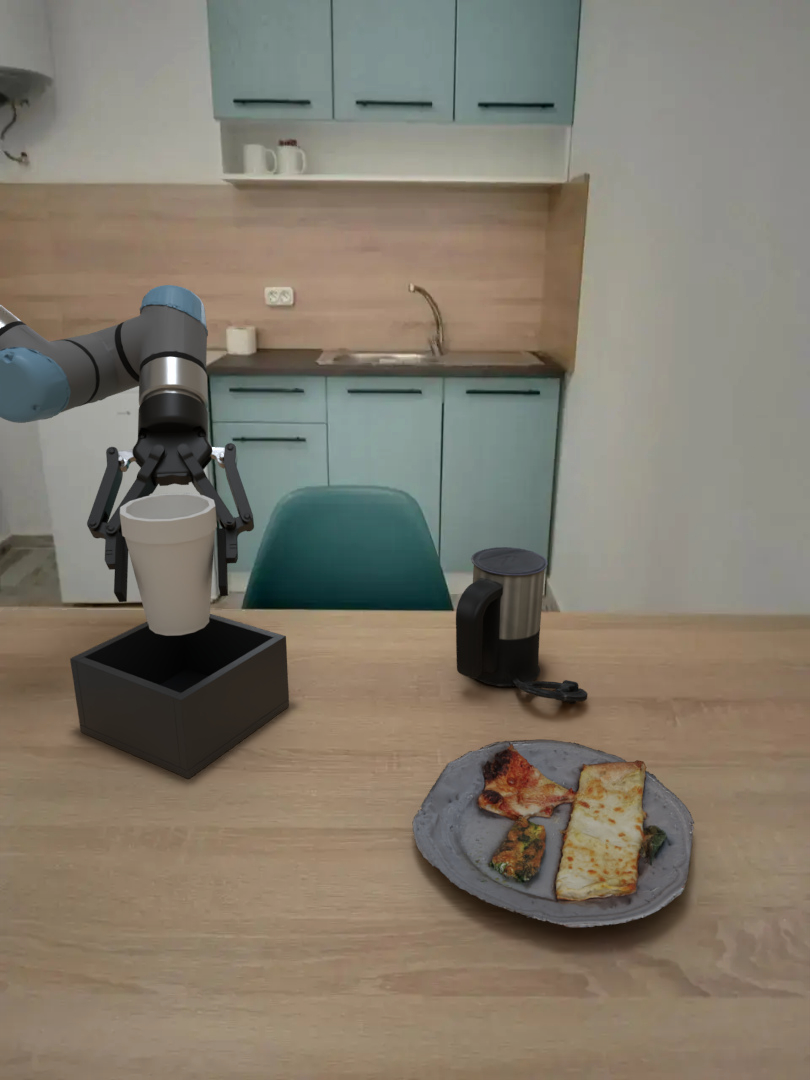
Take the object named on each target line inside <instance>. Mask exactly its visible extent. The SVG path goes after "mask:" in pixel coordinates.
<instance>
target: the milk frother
mask: <svg viewBox="0 0 810 1080" xmlns="http://www.w3.org/2000/svg"><path fill="white" fill-rule="evenodd" d="M470 560H471V563H472V564H473V568H472V569H473V571H472V583H470V584H469V585H468V586H467V587H466V588H465V589H464V591H463V592H462V594H461V595H460V597H459V600H458V602H457V606H456V611H455V649H456V650H455V651H456V652H455V653H456V671H457V672H458V674H460V675H462V676H464V677H467V678H470V679H475V680H477V681H480V682H482V683H483V684H487V685H490V686H496V687H504V688H505V687H508V688H509V687H510V688H511V687H517V688H518V689H519V690H521V691H523V692H525V693H527V694H530V695H533V696H536V697H539V698H544V699H551V700H556V701H559V702H562V703H566V704H570V705H575V704H576V703H578V702H585V701H587V699H588V695H589V694H588V692H587V691H586V690H585V689H583V688H581V687H579V683H578V682H577V681H573V680H568V679H564V680H563V681H562V682H559V681H547V680H536V679H538V677H539V676H540V673H541V667H540V664H539V661H540V660H539V657H540V656H539V655H540V636H541V635H540V633H541V622H542V620H541V619H542V610H543V609H542V608H543V594H544V584H545V583H544V581H545V569H547V567H548V564H549V563H548V560H547V559H546V557H544V556H543V555H542V554H540V553H537V552H534V551H532V550H528V549H524V548H520V547H519V548H518V547H507V546H506V547H505V546H500V547H490V548H485V549H481V550H478V551H476V552H475V553H473V555H471V557H470ZM551 689H553V690H551Z"/></svg>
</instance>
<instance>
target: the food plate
mask: <svg viewBox="0 0 810 1080" xmlns="http://www.w3.org/2000/svg"><path fill="white" fill-rule="evenodd" d="M694 827H695V821H694V819H693V816H692V814H691V812H690V810H689V809H688V807H687V806H686V804H684V802H683V801H682V800H681V799H680V798H679V797H677V795H676V794H675V793H674V792H672V791H671V790H670V789H669V788H668V787H666V786H665V785H664V784H663V782H661V781H660V780H659V779H658V778H657V776H656V775H655V774H654V773H651V772H650V771H647V766H646V763H645V762H644V761H643V760H639V759H637V760H634V761H627V760H626V759H624V758H622V757H620V756H618V755H615V754H611V753H608V752H605V751H603V750H600V749H595V748H592V747H589V746H587V745H583V744H580V743H578V742H572V741H563V740H555V739H543V738H540V739H538V738H537V739H520V740H519V739H518V740H503V741H496V742H492V743H490V744H487V745H484V746H481V747H479V748H478V749H476V750H469V751H468V752H466V753H465V754H463V755H460V757H458V758H457V759H456V758H455V759H454V760H452V761H449V762H447V764H446V765H445V767H444V768H443V770H442V771H441V773H440V774H439V776H438V777H437V779H436V780H435V782H434V784H433V785H432V787H431V788H430V790H429V792H428V793H427V795H426V796H425V798H424V799H423V802H422V804H421V805H420V807H419V809H418V810H417V811H416V813H415V815H414V816H413V820H412V834H413V840H414V841H415V844H416V847H417V849H418V851H419V852H420V853H421V855H422V857H423V859H425V860H427V861H428V864H430V865H431V867H435V868H437V869H438V870H439V871H440V873H442V874H443V876H445V878H447V879H448V880H449V881H450V883H452V884H454V885H455V886H457V887H458V888H459V889H461V890H464V891H465V892H466V893H469V894H470V895H471V896H474V897H476V898H478V899H480V900H481V901H483V902H485V903H487V904H490V905H492V906H496V907H499V908H502V909H504V910H507V911H509V912H512V913H513V914H514V915H516V914H518V913H519V914H520V915H523V916H526V919H528V918H529V919H530V918H532V919H537V920H538V921H542V922H548V923H551V924H556V925H561V926H564V927H566V928H572V929H573V928H576V929H577V928H588V927H589V928H593V927H595V926H597V927H598V926H599V927H600V926H601V927H603V926H609V925H610V926H612V925H618V924H623V923H626V924H627V923H629V922H631V921H632V922H633V921H636V920H640V919H641V918H642V919H643V918H646V917H648V916H650V915H652V914H654V913H656V912H659V911H661V910H662V908H665V907H667V906H668V905H669V904H670V903H672V902H673V901H674V899H676V898H677V897H679V896H681V895H682V894H683V892H685V889H686V884H688V878H689V872H690V871H689V870H690V863H691V861H690V860H691V853H692V845H693V837H694V829H695V828H694Z"/></svg>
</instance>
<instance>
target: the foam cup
mask: <svg viewBox="0 0 810 1080" xmlns="http://www.w3.org/2000/svg"><path fill="white" fill-rule="evenodd" d="M120 520H121V528H122V536H124V537H125V540H126V543H127V547H128V556H129V558H130V563H131V566H132V570H133V574H134V577H135V581H136V585H137V589H138V592H139V597H140V600H141V603H142V607H143V612H144V615H145V619H146V622H147V623H148V624H149V629H150V630H152V631H153V632H154V633H157V634H161V635H166V636H172V635H184V634H189V633H193V632H196V631H198V630H200V629H202V628H204V627H205V626H206V625H207V624H208V623H209V617H210V614H211V604H212V602H211V601H212V587H213V571H214V551H215V535H216V534H215V533H216V530H217V529H218V521H217V519H216V508H215V503H214V500H213V499H211V498H208V497H206V496H204V495H200V494H198V493H190V492H189V493H188V492H170V493H169V492H167V493H160V494H159V493H158V494H150V495H149V496H145V497H142V498H138V499H135V500H132V501H129V502H128V503H126V504H124V505H123V506H121V507H120Z"/></svg>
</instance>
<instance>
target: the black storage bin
mask: <svg viewBox="0 0 810 1080" xmlns="http://www.w3.org/2000/svg"><path fill="white" fill-rule="evenodd" d="M287 648H288V647H287V636H286V635H284V634H280V633H277V632H273V631H270V630H267V629H263V628H260V627H257V626H254V625H251V624H247V623H244V622H240V621H237V620H233V619H230V618H227V617H223V616H220V615H216V614H213V613H210V617H209V623H208V624H207V625H206V626H205V627H204V628H202V629H200V630H198V631H196V632H193V633H189V634H184V635H172V636H166V635H161V634H157V633H154V632H153V631H152V630H150V629H149V624H148V623H147V621H145V622H143V623H141V624H139V625H137V626H134V627H132V628H130V629H128V630H126V631H124V632H122V633H119V634H118V635H116V636H113V637H111V638H109V639H108V640H105V641H103V642H101V643H99V644H97V645H95V646H93V647H91V648H89V649H87V650H85V651H83V652H80V653H78V654H77V655H74V656H73V657H70V659H69V661H70V668H71V675H72V682H73V688H74V696H75V701H76V708H77V716H78V724H79V728H80V732H81V733H82V734H84V735H87V736H89V737H91V738H93V739H96V740H98V741H100V742H103V743H105V744H107V745H109V746H112V747H114V748H116V749H119V750H121V751H123V752H125V753H128V754H130V755H133V756H135V757H137V758H139V759H142V760H145V761H147V762H149V763H151V764H152V765H155V766H158V767H161V768H163V769H165V770H166V771H169V772H172V773H174V774H176V775H179V776H181V777H184V778H186V779H188V780H189V779H191V778H193V776H195V775H196V774H198V773H199V772H200V771H202V770H203V769H204V768H206V767H207V766H208V765H211V763H213V762H214V761H215V760H217V759H219V758H220V757H221V756H222V755H224V754H225V753H226V752H228V751H230V750H231V749H233V748H234V747H236V745H238V744H239V743H241V742H243V740H245V739H246V738H248V737H249V736H250V735H252V734H253V733H255V732H256V731H257V730H259V729H260V728H262V727H263V726H264V725H265V724H267V723H269V722H270V721H271V720H272V719H274V718H275V717H276V716H278V715H279V714H280V713H282V712H283V711H285V710H287V709H288V708H289V707H290V694H289V693H290V692H289V671H288V650H287Z"/></svg>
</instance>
